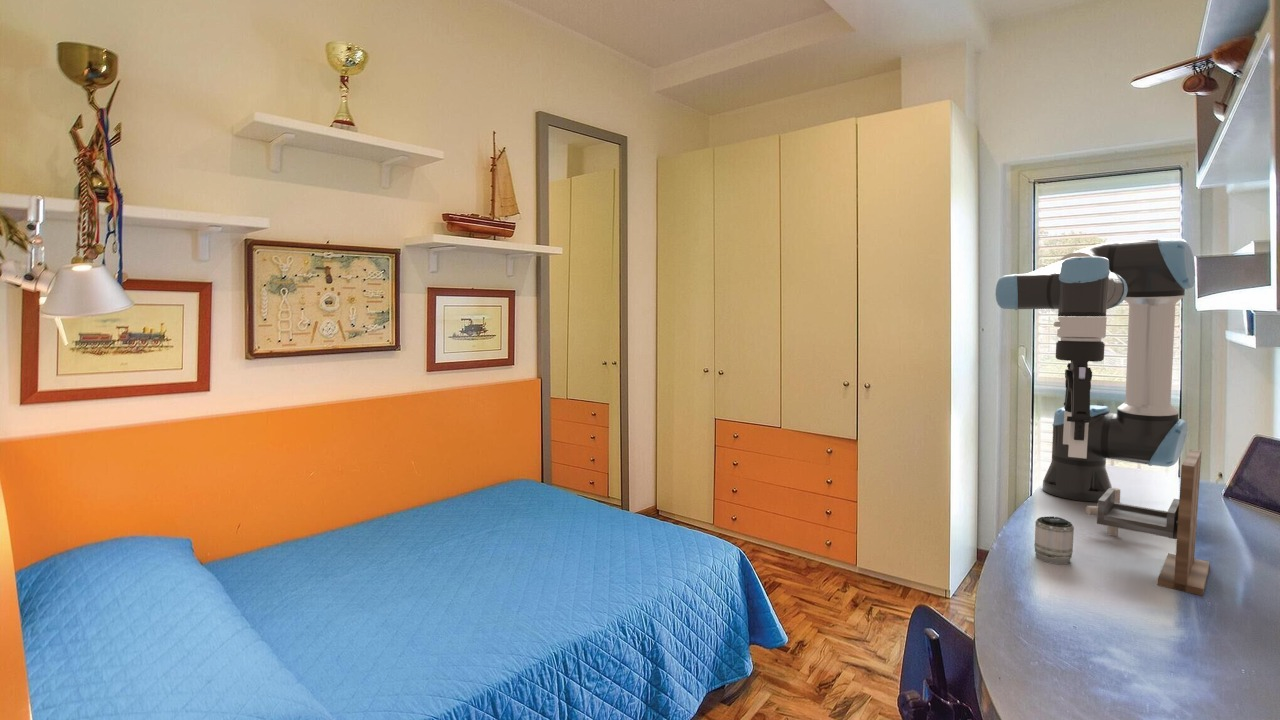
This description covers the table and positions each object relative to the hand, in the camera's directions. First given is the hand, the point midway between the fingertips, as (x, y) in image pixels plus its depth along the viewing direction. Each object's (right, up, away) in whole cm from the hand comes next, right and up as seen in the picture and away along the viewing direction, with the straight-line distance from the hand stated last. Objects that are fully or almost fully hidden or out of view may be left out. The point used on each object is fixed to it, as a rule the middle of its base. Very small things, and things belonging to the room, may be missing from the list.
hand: (1073, 450), depth 120 cm
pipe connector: (+19, -21, +15) cm, 32 cm away
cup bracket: (+13, -22, -2) cm, 25 cm away
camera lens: (-2, -22, +3) cm, 22 cm away
